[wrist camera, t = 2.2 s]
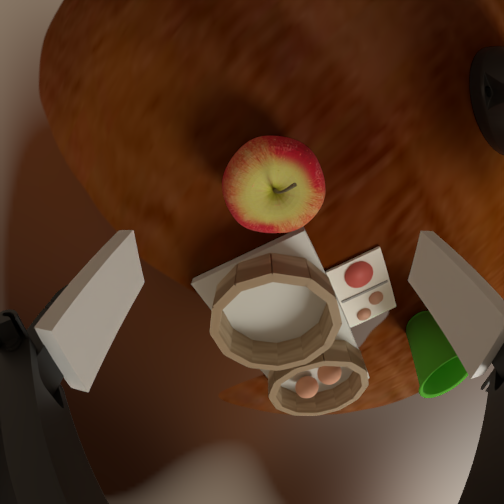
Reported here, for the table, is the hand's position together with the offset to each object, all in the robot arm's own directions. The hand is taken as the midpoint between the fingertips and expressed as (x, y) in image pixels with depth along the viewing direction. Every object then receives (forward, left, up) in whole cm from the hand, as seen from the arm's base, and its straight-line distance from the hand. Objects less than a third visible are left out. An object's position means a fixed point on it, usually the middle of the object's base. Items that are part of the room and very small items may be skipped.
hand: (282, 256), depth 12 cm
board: (+14, +17, -17) cm, 28 cm away
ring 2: (+17, +24, -16) cm, 33 cm away
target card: (+3, +18, -17) cm, 25 cm away
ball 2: (+14, +24, -16) cm, 32 cm away
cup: (+1, +31, -17) cm, 36 cm away
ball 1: (+19, +24, -16) cm, 34 cm away
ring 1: (+11, +10, -16) cm, 22 cm away
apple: (0, 0, -17) cm, 17 cm away
